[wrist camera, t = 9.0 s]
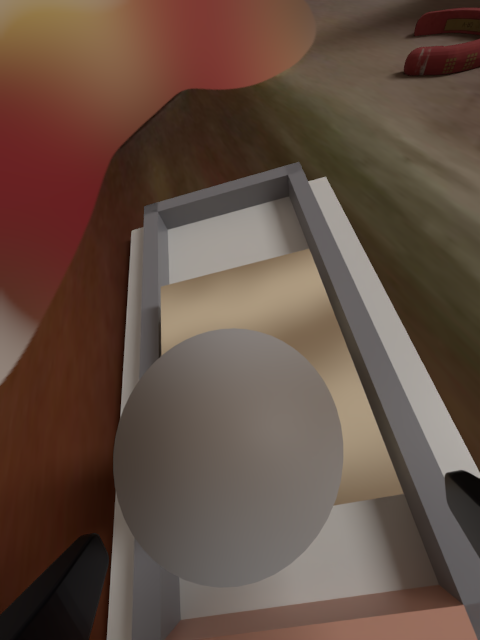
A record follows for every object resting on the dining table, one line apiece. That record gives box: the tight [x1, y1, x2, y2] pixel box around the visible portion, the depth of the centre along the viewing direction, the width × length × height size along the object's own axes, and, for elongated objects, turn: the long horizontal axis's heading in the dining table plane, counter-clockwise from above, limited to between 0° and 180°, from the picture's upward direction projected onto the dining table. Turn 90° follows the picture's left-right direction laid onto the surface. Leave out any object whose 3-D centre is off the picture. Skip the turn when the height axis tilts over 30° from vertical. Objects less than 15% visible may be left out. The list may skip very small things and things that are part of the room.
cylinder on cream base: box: [113, 249, 404, 588], centre depth 12 cm, size 12×9×11 cm
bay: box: [107, 162, 480, 640], centre depth 18 cm, size 27×18×3 cm, turn 9°
